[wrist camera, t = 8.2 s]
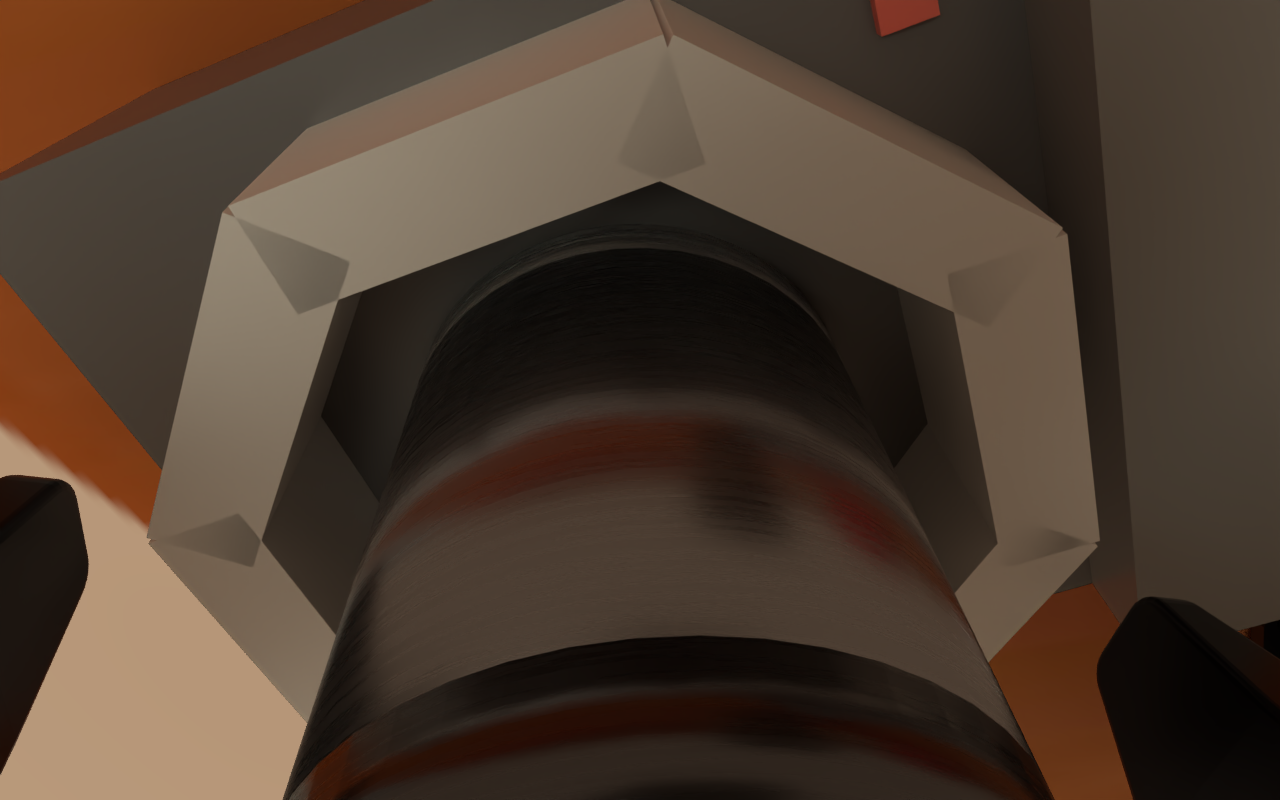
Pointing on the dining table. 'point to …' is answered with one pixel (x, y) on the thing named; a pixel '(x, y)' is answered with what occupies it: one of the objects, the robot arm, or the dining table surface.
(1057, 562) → the camera body
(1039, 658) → the dining table surface
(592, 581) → the lens
